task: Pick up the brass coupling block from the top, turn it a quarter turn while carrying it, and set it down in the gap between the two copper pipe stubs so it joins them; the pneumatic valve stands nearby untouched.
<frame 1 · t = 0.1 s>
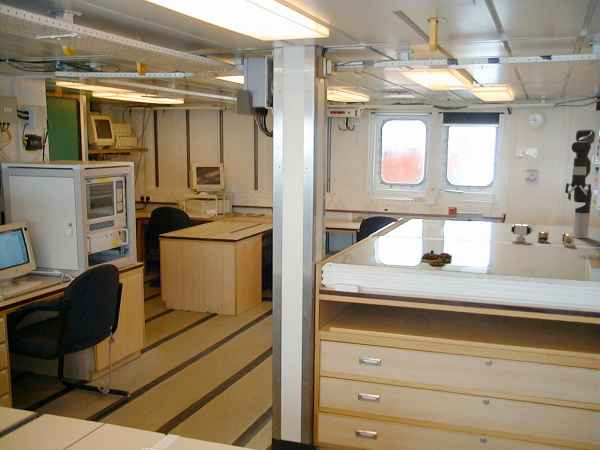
hand: (577, 200, 376), 29 cm above the worktop, tool pointing down, fingers open, 8 cm apart
pipe stubs: (555, 243, 393), on the worktop
coupling block: (568, 246, 381), on the worktop
gear puzzle: (435, 262, 326), on the worktop
pneumatic valve: (520, 241, 398), on the worktop
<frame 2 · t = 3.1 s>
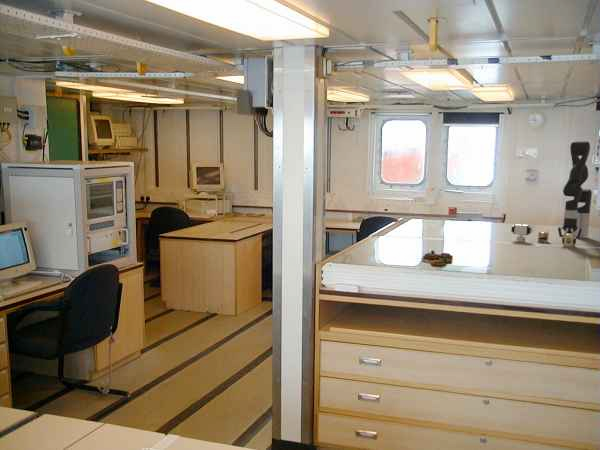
hand: (568, 244, 381), 1 cm above the worktop, tool pointing down, fingers closed on coupling block, 5 cm apart
coupling block: (568, 246, 381), on the worktop, touching gripper
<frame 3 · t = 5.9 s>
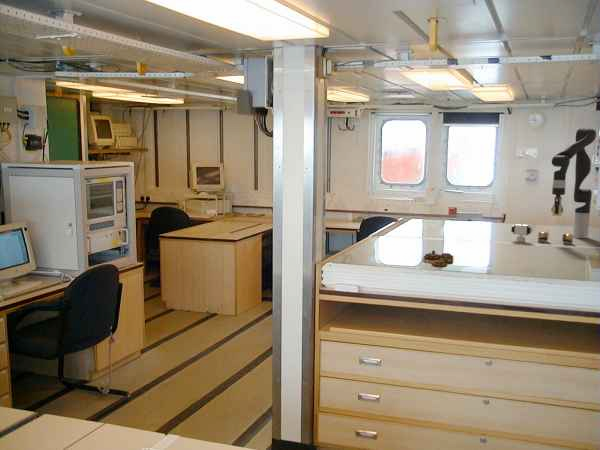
hand: (557, 213, 391), 19 cm above the worktop, tool pointing down, fingers closed on coupling block, 5 cm apart
coupling block: (556, 215, 391), point 18 cm above the worktop, touching gripper
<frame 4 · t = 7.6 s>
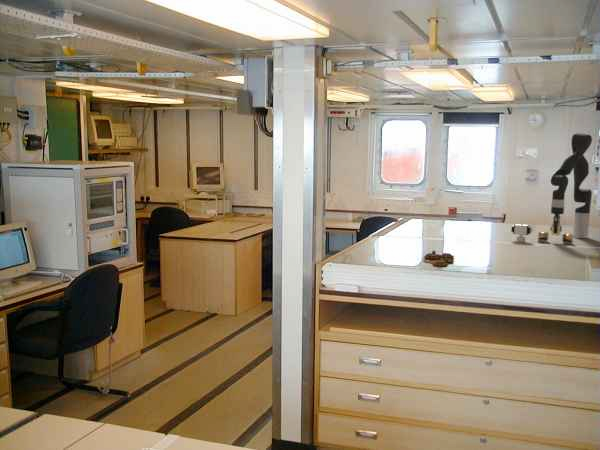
hand: (555, 232, 392), 7 cm above the worktop, tool pointing down, fingers closed on coupling block, 5 cm apart
coupling block: (555, 234, 393), point 6 cm above the worktop, touching gripper
when the fingers open (3 cm above the worktop, at t = 8.8 s): coupling block drops 2 cm, on the worktop.
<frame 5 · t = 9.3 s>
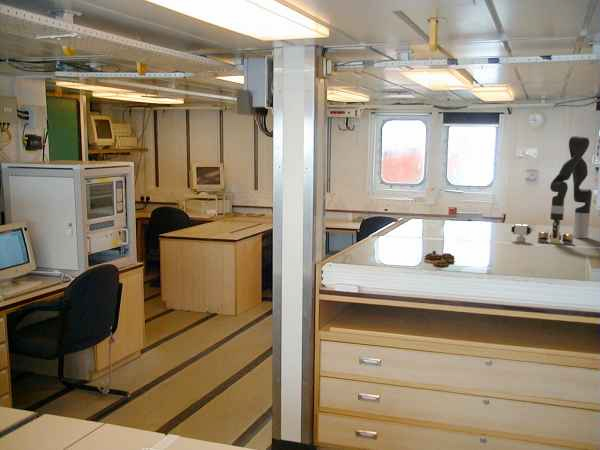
hand: (555, 237, 393), 4 cm above the worktop, tool pointing down, fingers open, 8 cm apart
coupling block: (555, 243, 393), on the worktop
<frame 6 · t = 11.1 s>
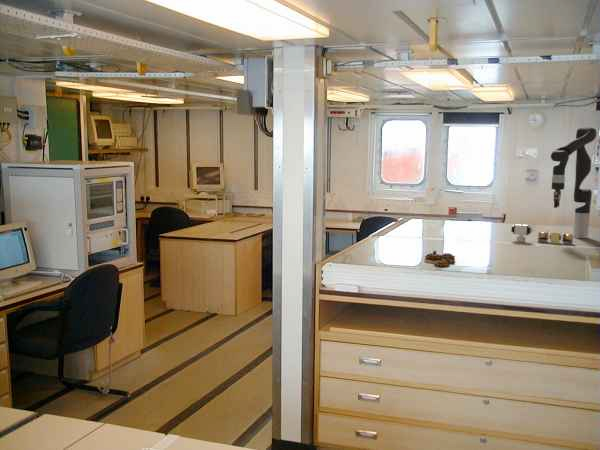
hand: (556, 207, 393), 23 cm above the worktop, tool pointing down, fingers open, 8 cm apart
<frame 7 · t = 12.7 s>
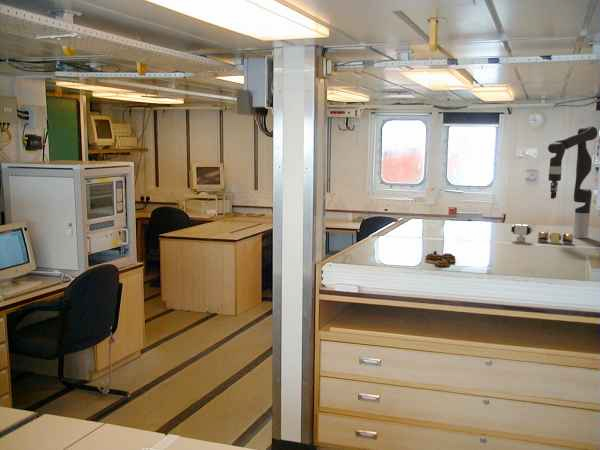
hand: (553, 198, 400), 28 cm above the worktop, tool pointing down, fingers open, 8 cm apart
at the end: coupling block inside the target area (0.0 cm from its centre), on the worktop; coupling block tilted 0°; the gripper is holding nothing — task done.
